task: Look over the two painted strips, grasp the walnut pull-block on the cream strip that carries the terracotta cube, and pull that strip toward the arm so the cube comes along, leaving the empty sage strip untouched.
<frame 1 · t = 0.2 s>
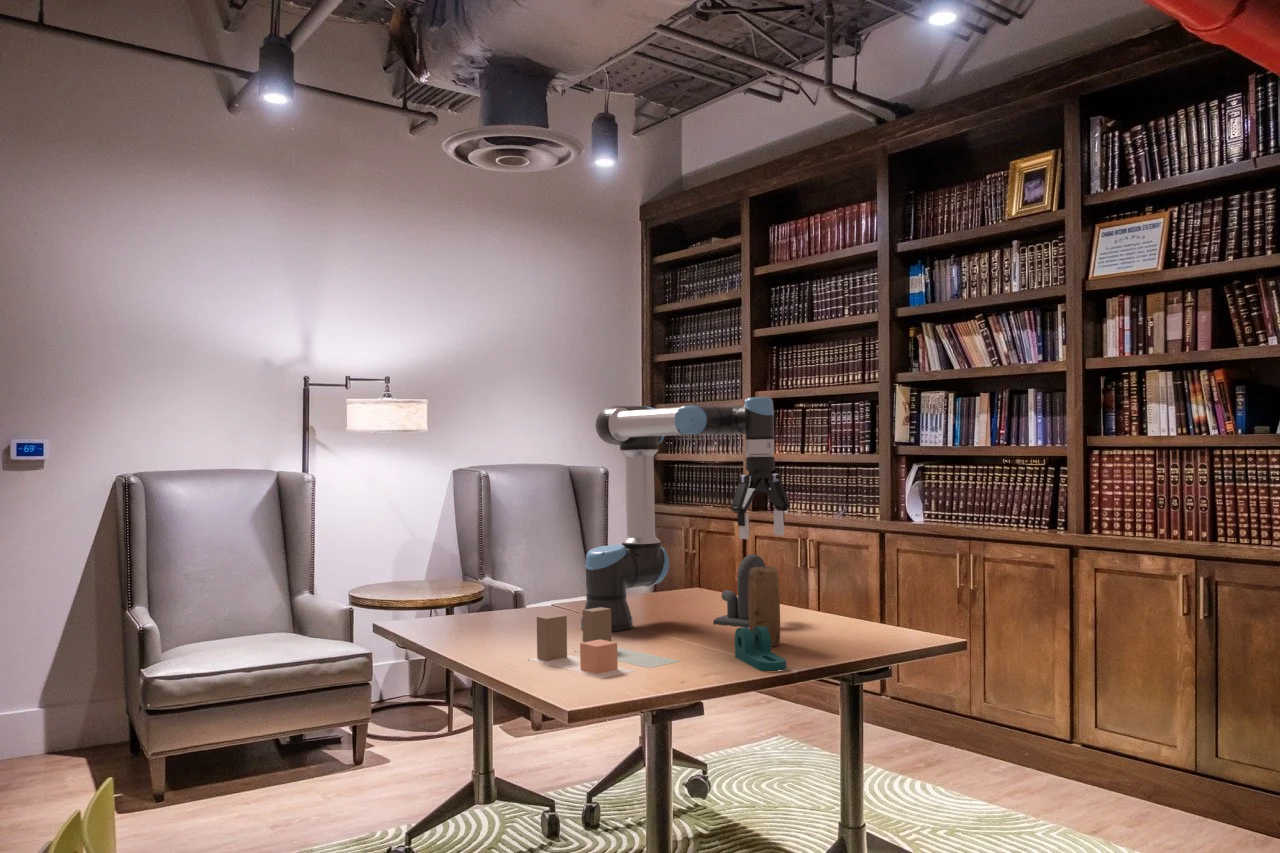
hand: (761, 537, 252), 28 cm above the table, fingers open, 13 cm apart
bracket: (762, 665, 229), on the table
empty strip: (625, 637, 234), point 6 cm above the table, slide at 0.0 cm
cube strip: (579, 645, 224), point 6 cm above the table, slide at 0.0 cm, touching cube
cube: (599, 669, 219), point 1 cm above the table, touching cube strip
faucet: (752, 623, 284), on the table
block: (764, 644, 252), on the table
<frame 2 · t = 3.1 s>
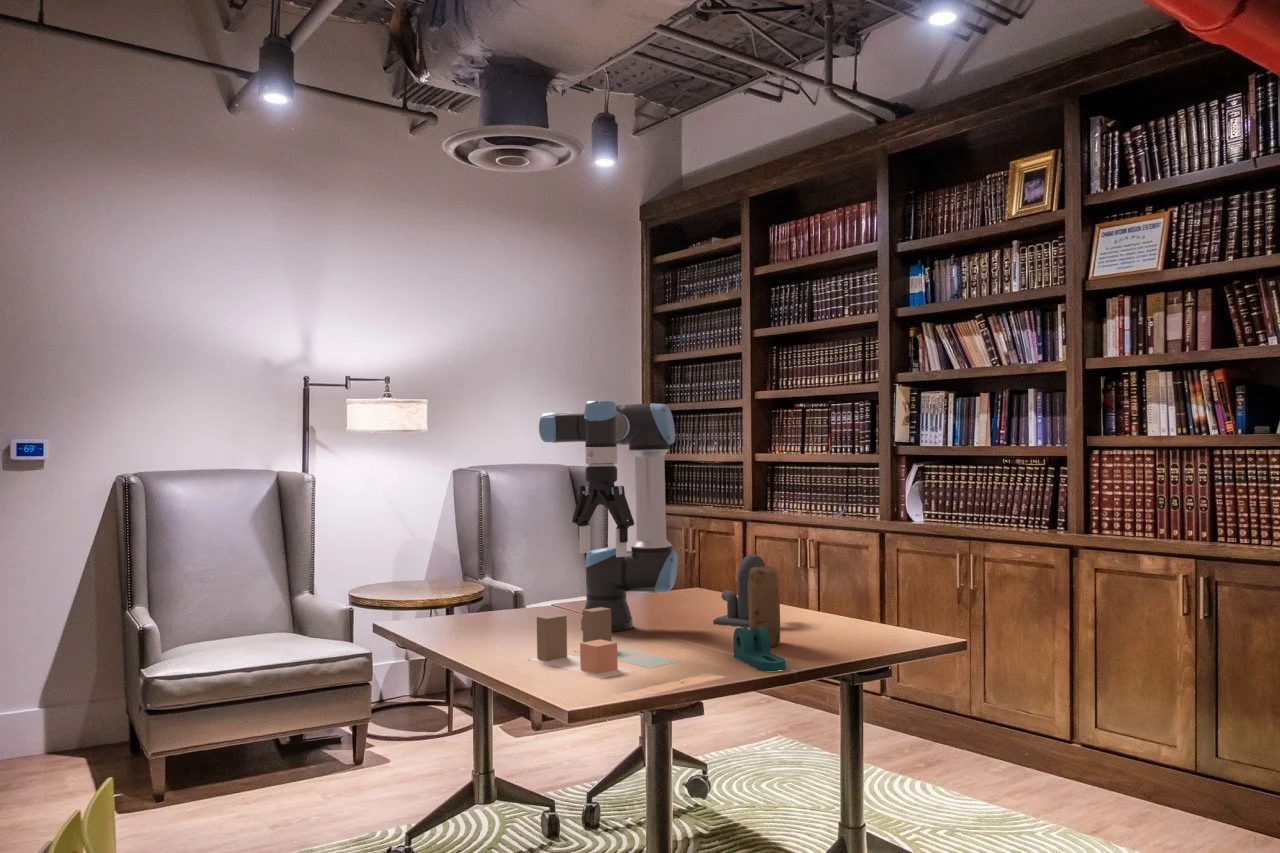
hand: (602, 554, 229), 26 cm above the table, fingers open, 13 cm apart
nothing on the table moved.
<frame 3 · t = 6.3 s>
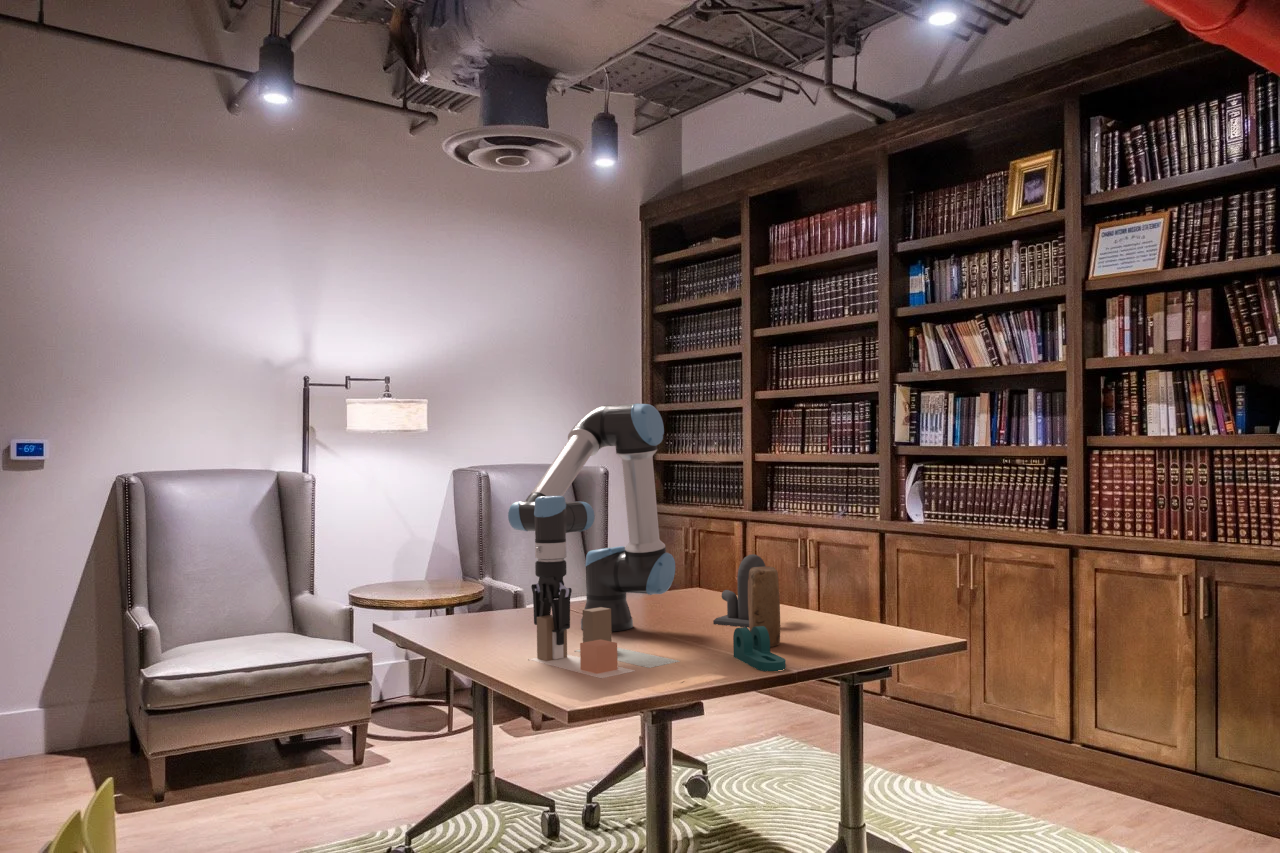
hand: (552, 656, 233), 2 cm above the table, fingers closed on cube strip, 4 cm apart
cube strip: (579, 645, 224), point 6 cm above the table, slide at 0.0 cm, touching cube, gripper
everything else where it was.
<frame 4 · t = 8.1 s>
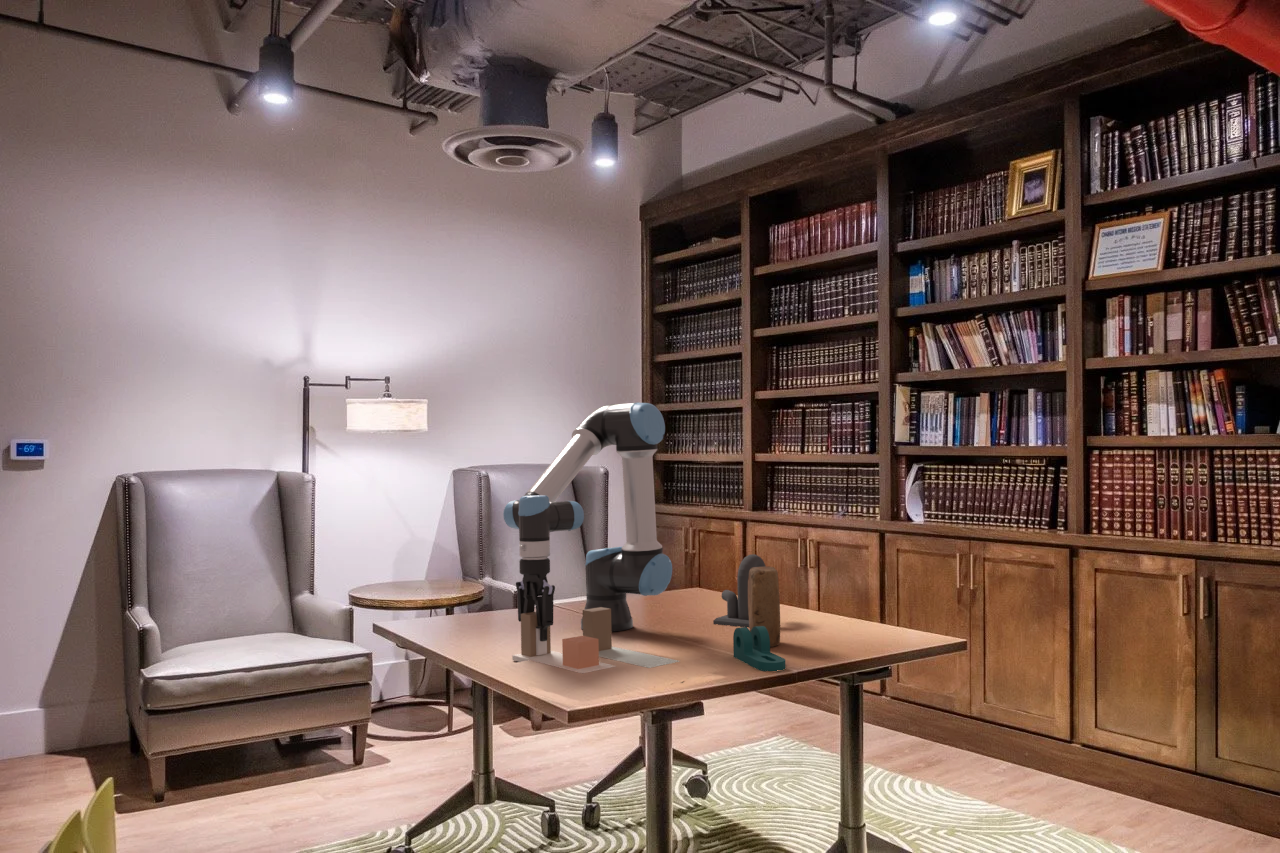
hand: (535, 652, 238), 2 cm above the table, fingers closed on cube strip, 4 cm apart
cube strip: (562, 641, 229), point 6 cm above the table, slide at 6.8 cm, touching cube, gripper
cube: (580, 664, 224), point 1 cm above the table, touching cube strip
everything else where it was.
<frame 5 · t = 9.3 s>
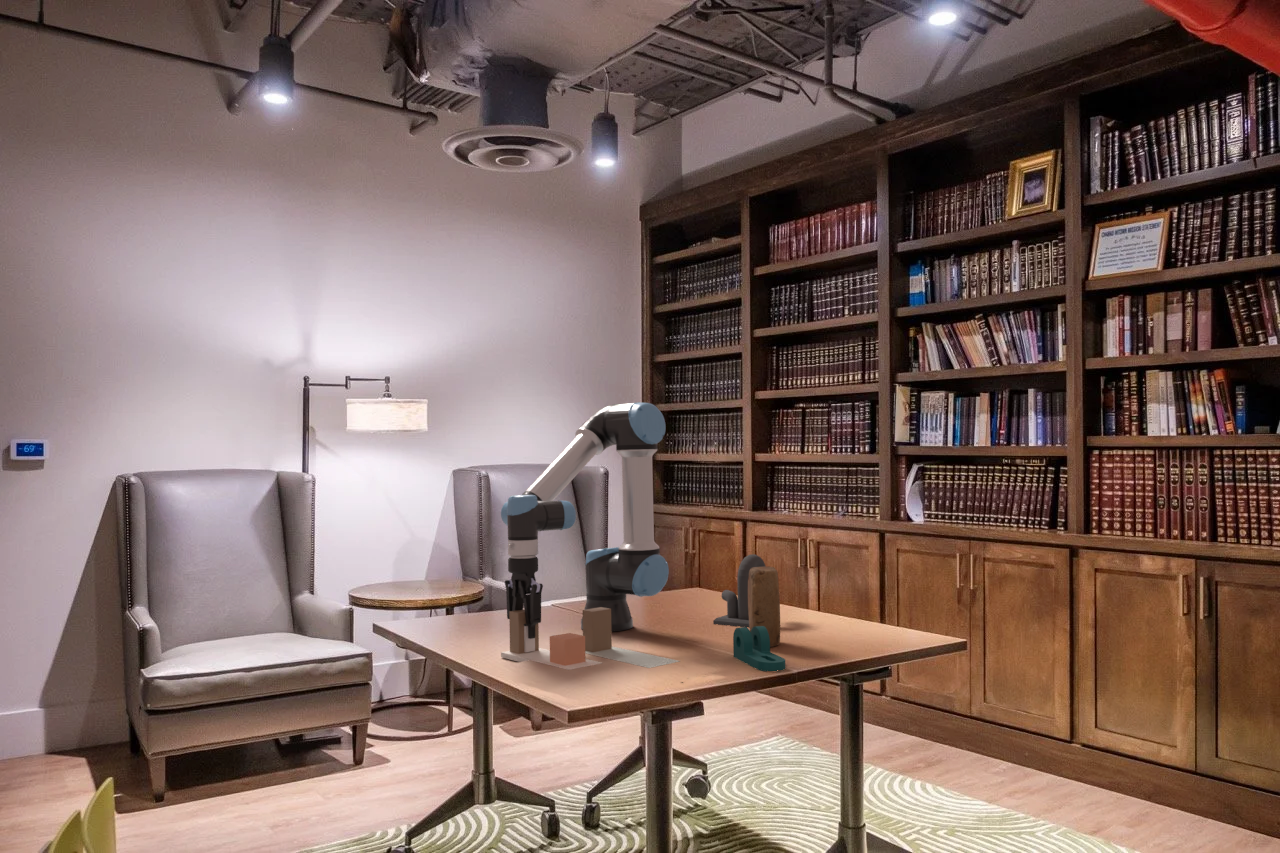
hand: (524, 649, 241), 2 cm above the table, fingers closed on cube strip, 4 cm apart
cube strip: (550, 639, 233), point 6 cm above the table, slide at 11.8 cm, touching cube, gripper
cube: (567, 661, 228), point 1 cm above the table, touching cube strip
everything else where it was.
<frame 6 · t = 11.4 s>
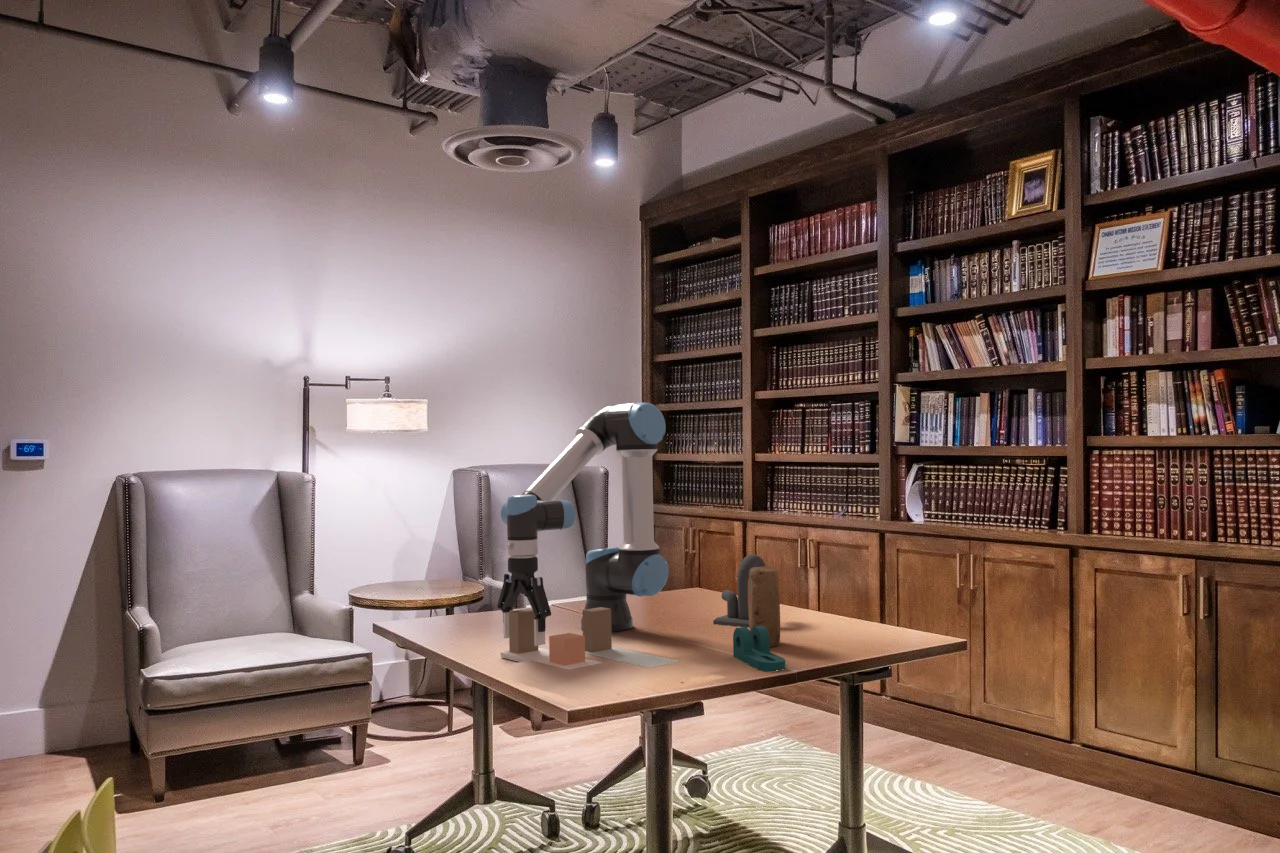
hand: (524, 641, 242), 4 cm above the table, fingers open, 13 cm apart
cube strip: (549, 639, 233), point 6 cm above the table, slide at 12.0 cm, touching cube
everything else where it was.
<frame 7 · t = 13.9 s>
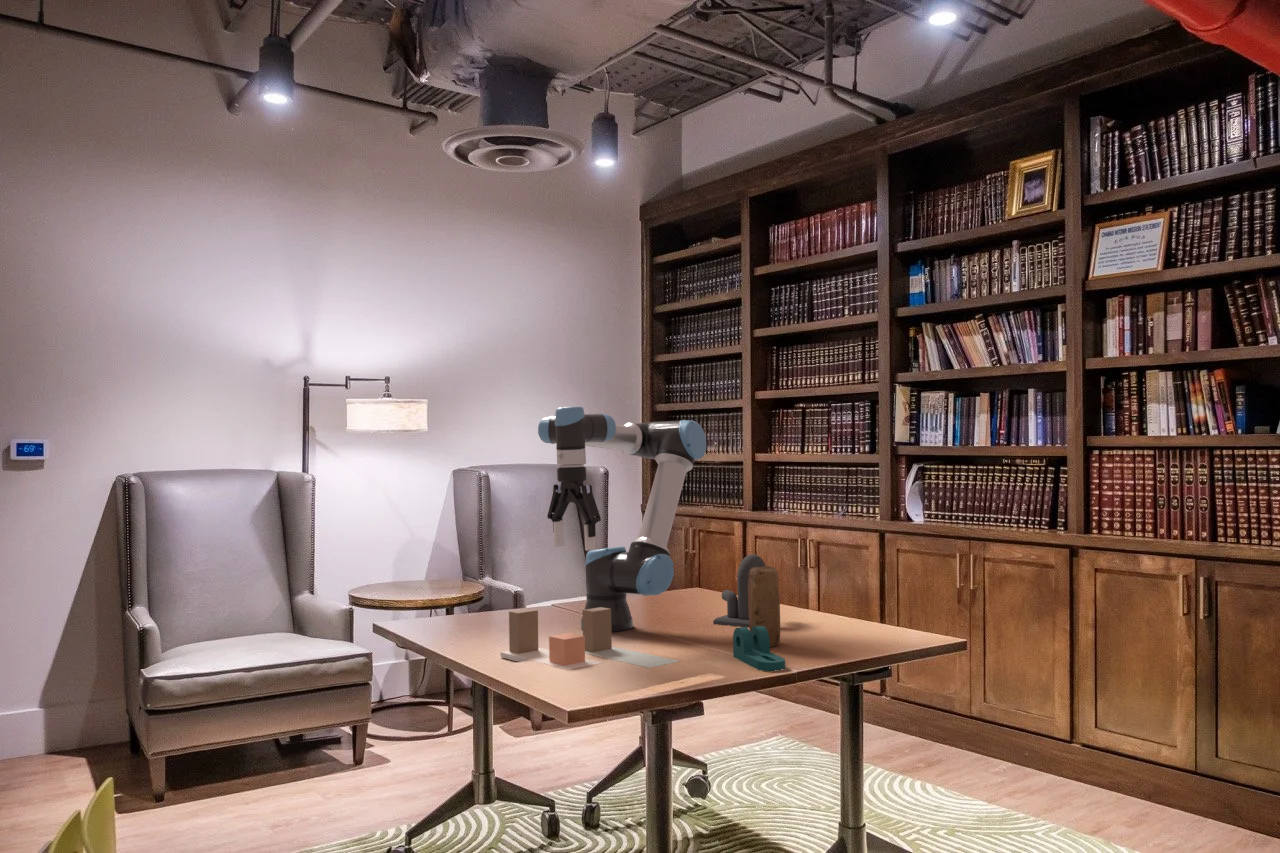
hand: (574, 548, 250), 26 cm above the table, fingers open, 13 cm apart
nothing on the table moved.
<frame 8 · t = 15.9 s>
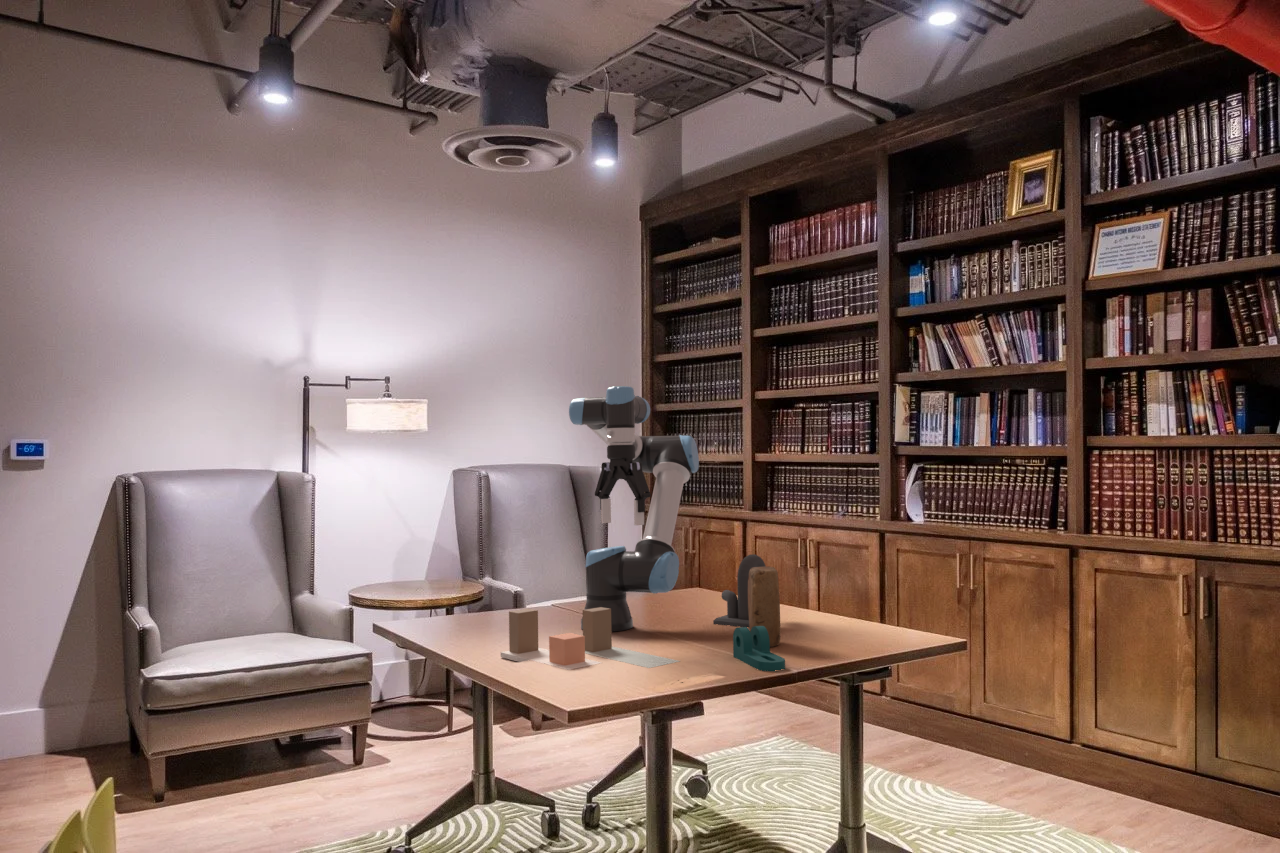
hand: (622, 524, 256), 32 cm above the table, fingers open, 13 cm apart
nothing on the table moved.
at the end: cube strip slide at 12.0 cm; cube inside the target area (0.0 cm from its centre), point 1.4 cm above the table; empty strip slide at 0.0 cm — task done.
